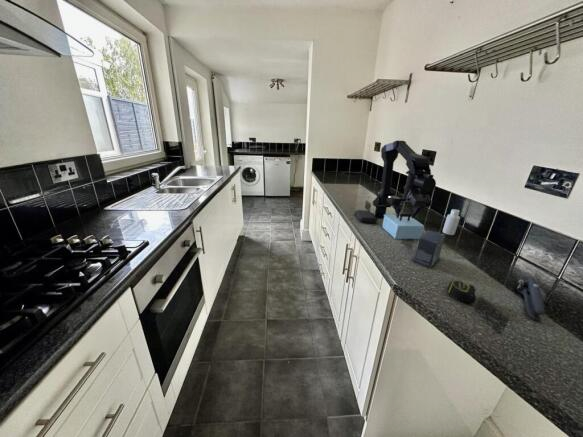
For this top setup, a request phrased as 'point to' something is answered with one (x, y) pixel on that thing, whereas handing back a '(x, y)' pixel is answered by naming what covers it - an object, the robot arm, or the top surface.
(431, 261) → the small box
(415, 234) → the light blue box
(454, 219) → the bottle
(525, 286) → the can opener
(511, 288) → the top surface
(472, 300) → the tape measure
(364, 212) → the carrying case
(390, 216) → the lid
